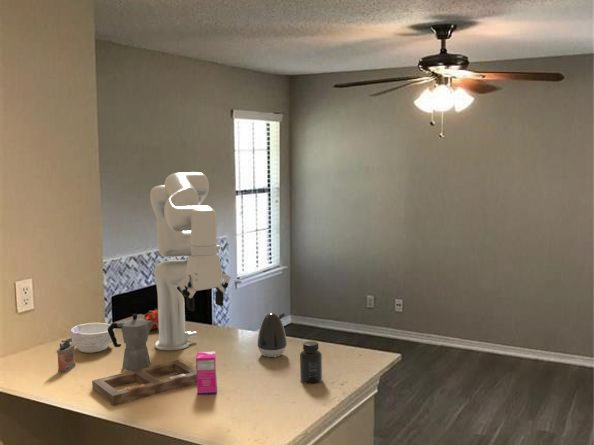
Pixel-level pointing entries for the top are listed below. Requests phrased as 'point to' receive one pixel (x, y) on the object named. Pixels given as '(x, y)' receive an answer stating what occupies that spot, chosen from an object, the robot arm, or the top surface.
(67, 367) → the lighter
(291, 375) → the top surface
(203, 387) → the supplement box
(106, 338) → the paper bowls
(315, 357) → the supplement bottle
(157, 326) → the dragon fruit
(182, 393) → the top surface
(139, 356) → the coffeepot
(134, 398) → the wooden compartment tray
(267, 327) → the dark grey tapered dome
